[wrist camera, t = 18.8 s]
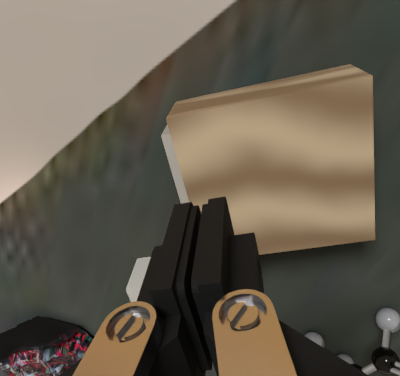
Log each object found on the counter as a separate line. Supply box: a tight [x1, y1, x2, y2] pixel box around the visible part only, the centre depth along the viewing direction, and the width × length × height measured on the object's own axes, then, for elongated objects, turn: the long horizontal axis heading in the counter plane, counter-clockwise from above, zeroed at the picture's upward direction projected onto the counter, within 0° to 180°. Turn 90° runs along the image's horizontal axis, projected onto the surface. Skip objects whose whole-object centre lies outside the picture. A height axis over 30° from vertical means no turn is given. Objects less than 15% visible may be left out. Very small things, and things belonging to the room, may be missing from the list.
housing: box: [166, 64, 375, 255], centre depth 31 cm, size 14×15×5 cm
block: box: [126, 257, 151, 302], centre depth 39 cm, size 5×5×5 cm
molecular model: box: [304, 308, 400, 376], centre depth 38 cm, size 8×12×11 cm
